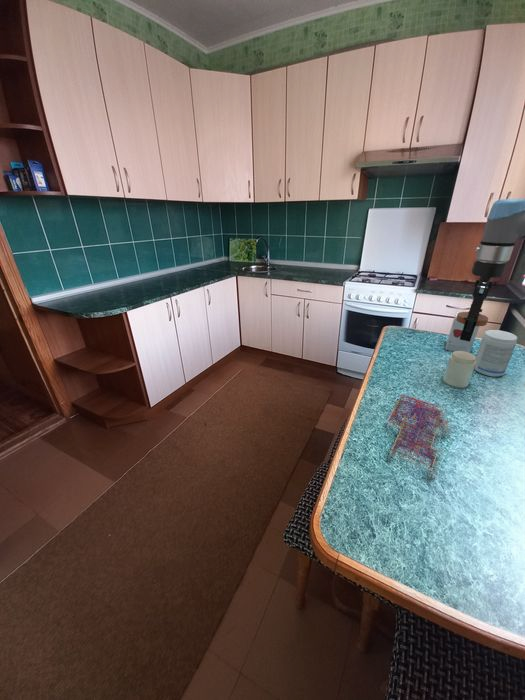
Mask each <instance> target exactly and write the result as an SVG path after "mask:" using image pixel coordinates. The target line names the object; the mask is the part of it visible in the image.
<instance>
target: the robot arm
mask: <svg viewBox="0 0 525 700" xmlns="http://www.w3.org/2000/svg"><path fill="white" fill-rule="evenodd" d="M517 239H525V198H499V199H497V200H495V201H494V202H493V204H492V206H491V208H490V211H489V213H488V215H487V218H486V222H485V226H484V229H483V233H482V235H481V240H480V242H479V243H480V244H479V246H478V247H476V248H475V252H477V253H476V256H475V259H476V260H475V261H474V262H473V265H472V268H471V272H470V273H471V274H472V275H473V276H476V277H479V278H478V279H476V280H475V283H474V286H473V288H474V289H473V293H472V298H473V299H472V302H471V304H470V306H469V311H468V312H469V314H468V317H467V318H465V317H464V319H463V320H466V321H465V324H464V327H463V330H462V333H461V336H460V340H464V341H469V342H470V340H471V337H472V334H473V331H474V328H475V326H476V323H477V320H478V316H479V314H481V313H483V309H482V306H483V304H484V301H485V300H486V299H487V297H488V295H489V292H490V290H491V289H492V286H493V281H491V278H495V279H497V278H501V277H503V276H504V274H505V272H506V269H507V266H508V263H507V262H509V261H510V259H511V256H512V253H513V250H514V248H515V244H516V241H517ZM472 316H474V317H472Z"/></svg>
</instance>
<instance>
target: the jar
mask: <svg viewBox="0 0 525 700" xmlns="http://www.w3.org/2000/svg"><path fill="white" fill-rule="evenodd" d="M475 365H476V355H474V354H473V353H471V352H470V353H468V352H465V351H452V353H451V355H449V358H448V361H447V365H446V368H445V370H444V374H443V376H442V377H443V378H442V381H443V382H444V383H445V384H447V385H449V386H450V387H454V388H459V389H463V388H467V387H468V386H469V385H470V381H471V378H472V377H473V373H474V371H475V369H474V368H475Z"/></svg>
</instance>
